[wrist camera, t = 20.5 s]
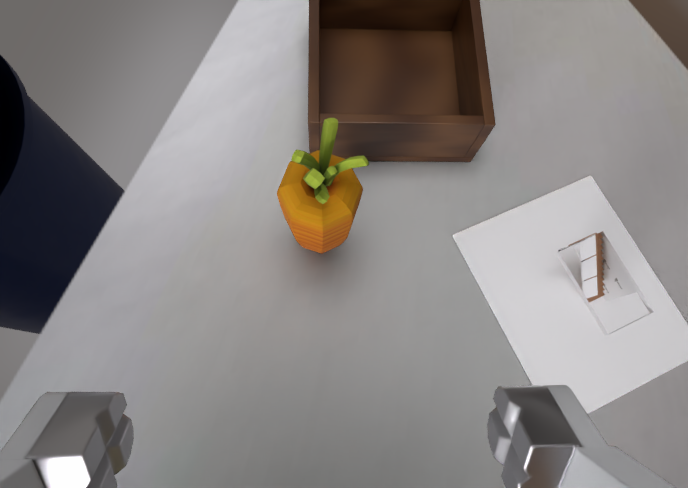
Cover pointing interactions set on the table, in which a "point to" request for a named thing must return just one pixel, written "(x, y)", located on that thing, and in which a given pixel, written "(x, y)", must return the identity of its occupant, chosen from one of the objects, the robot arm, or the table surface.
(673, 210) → the table surface
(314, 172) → the carrot
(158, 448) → the table surface
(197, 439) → the table surface
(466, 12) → the basket
